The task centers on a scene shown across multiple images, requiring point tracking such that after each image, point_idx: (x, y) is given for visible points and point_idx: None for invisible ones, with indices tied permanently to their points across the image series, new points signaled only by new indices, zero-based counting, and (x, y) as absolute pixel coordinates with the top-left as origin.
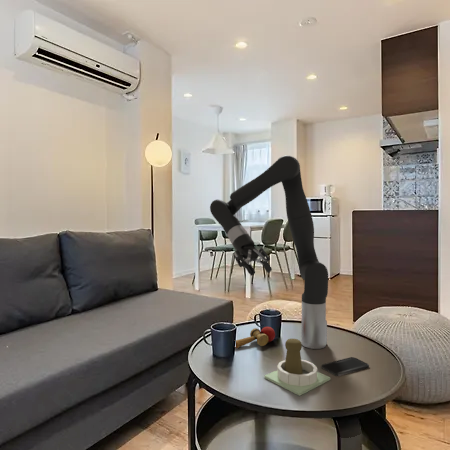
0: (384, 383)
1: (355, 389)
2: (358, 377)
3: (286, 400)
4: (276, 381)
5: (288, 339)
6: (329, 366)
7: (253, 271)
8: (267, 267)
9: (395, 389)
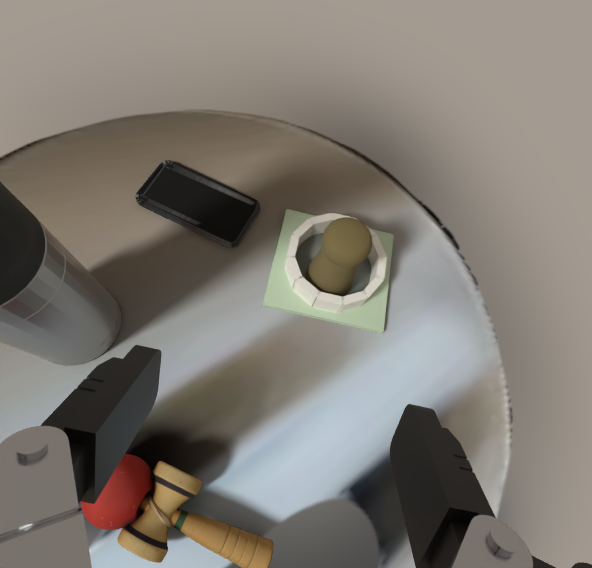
0: (232, 129)
1: (293, 164)
2: (236, 170)
3: (423, 250)
4: (387, 293)
5: (353, 249)
6: (227, 228)
7: (433, 415)
8: (135, 399)
9: (245, 113)
